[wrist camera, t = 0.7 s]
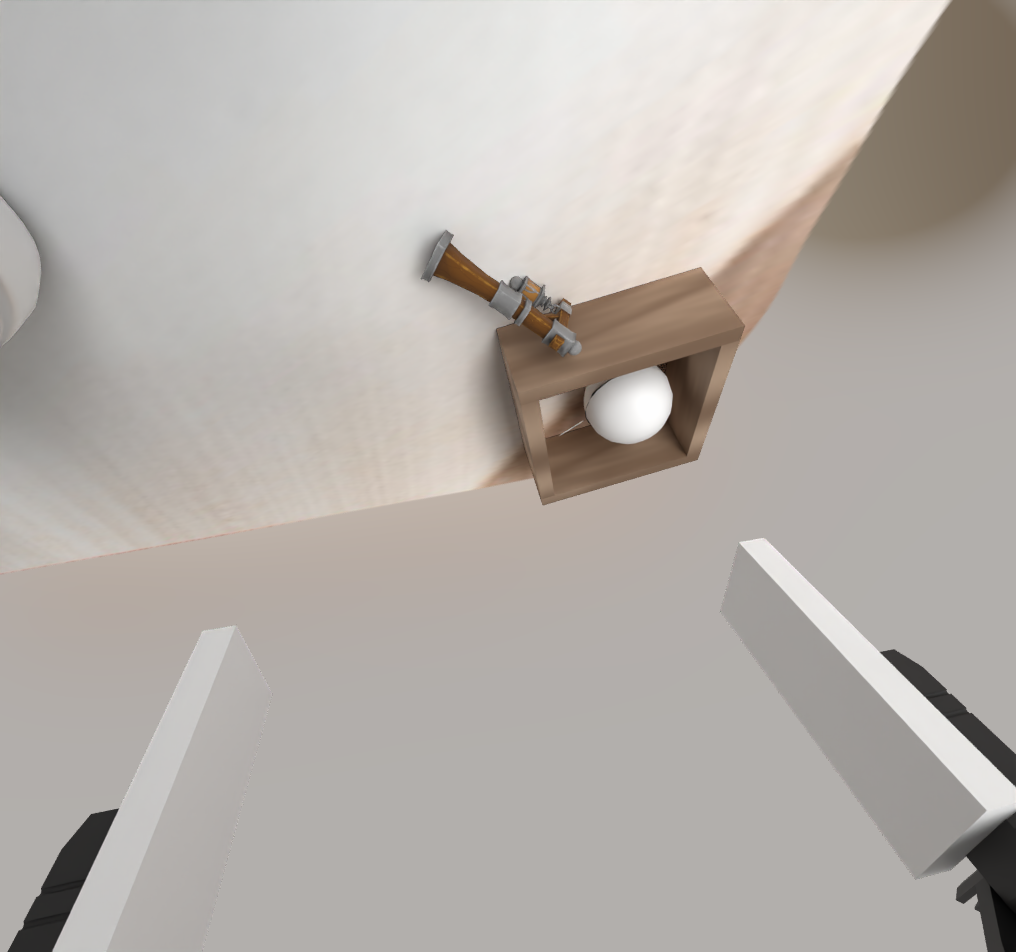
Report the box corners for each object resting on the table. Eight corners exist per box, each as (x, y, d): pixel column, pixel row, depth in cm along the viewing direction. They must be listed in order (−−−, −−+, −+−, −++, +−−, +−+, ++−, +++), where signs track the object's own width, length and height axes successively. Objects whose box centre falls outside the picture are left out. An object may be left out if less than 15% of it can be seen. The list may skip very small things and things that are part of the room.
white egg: (652, 324, 29) (691, 390, 26) (651, 382, 34) (684, 443, 31) (536, 367, 30) (562, 436, 27) (551, 418, 35) (575, 480, 32)
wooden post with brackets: (570, 329, 27) (568, 374, 24) (441, 244, 24) (419, 281, 21) (591, 303, 26) (592, 346, 22) (457, 211, 23) (436, 244, 20)
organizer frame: (496, 328, 27) (517, 393, 24) (701, 267, 26) (745, 325, 24) (525, 452, 38) (542, 505, 35) (669, 409, 38) (697, 459, 35)
